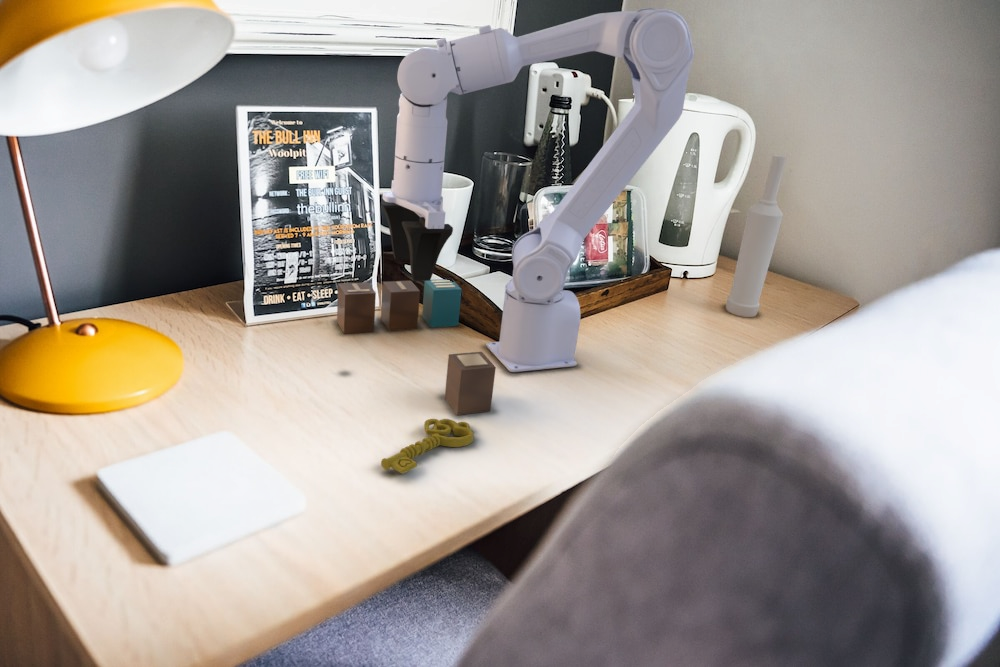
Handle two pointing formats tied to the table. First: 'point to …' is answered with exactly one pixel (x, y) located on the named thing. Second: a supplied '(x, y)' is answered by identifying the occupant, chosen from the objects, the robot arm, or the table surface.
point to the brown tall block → (469, 383)
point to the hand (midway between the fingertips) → (411, 268)
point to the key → (430, 443)
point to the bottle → (757, 246)
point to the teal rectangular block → (441, 303)
